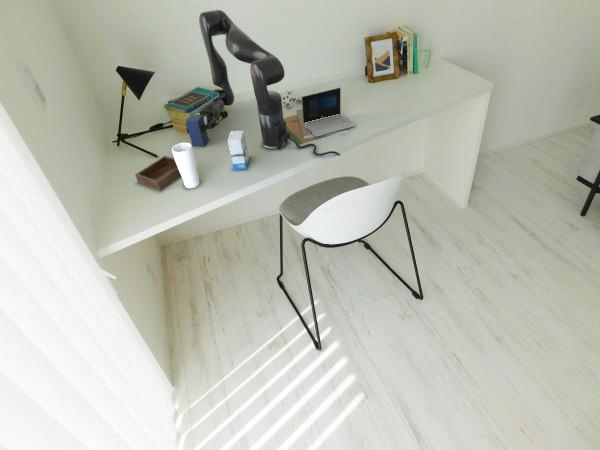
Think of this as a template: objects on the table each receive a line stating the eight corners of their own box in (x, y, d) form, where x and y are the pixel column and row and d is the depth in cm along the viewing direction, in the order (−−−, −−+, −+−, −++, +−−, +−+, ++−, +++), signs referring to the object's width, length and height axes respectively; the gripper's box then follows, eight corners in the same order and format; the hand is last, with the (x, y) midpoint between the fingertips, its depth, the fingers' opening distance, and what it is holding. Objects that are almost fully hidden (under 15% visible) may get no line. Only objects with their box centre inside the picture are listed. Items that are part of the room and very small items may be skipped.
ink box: (246, 169, 146) (241, 141, 139) (232, 170, 147) (227, 141, 139) (249, 157, 153) (244, 129, 145) (236, 158, 153) (231, 130, 146)
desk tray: (189, 170, 149) (187, 162, 146) (160, 190, 139) (157, 182, 137) (167, 163, 154) (164, 155, 151) (138, 182, 144) (135, 174, 142)
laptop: (315, 138, 161) (314, 107, 153) (303, 126, 170) (301, 96, 162) (354, 127, 166) (355, 97, 158) (340, 116, 175) (340, 87, 167)
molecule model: (306, 108, 188) (306, 90, 187) (287, 107, 181) (287, 88, 179) (298, 109, 193) (298, 92, 191) (278, 108, 186) (278, 90, 184)
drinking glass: (184, 180, 144) (173, 143, 134) (203, 178, 144) (193, 141, 134) (181, 191, 138) (169, 153, 129) (201, 189, 139) (190, 151, 129)
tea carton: (208, 139, 166) (202, 115, 159) (203, 146, 162) (197, 121, 155) (197, 139, 167) (191, 114, 160) (192, 145, 163) (185, 121, 156)
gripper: (192, 104, 170) (175, 122, 157) (223, 104, 167) (209, 123, 155) (196, 120, 175) (180, 139, 162) (227, 121, 172) (213, 140, 160)
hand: (194, 131), depth 159 cm, fingers closed on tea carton, 5 cm apart
